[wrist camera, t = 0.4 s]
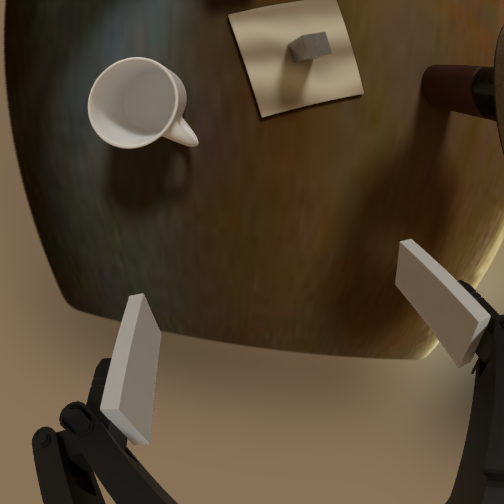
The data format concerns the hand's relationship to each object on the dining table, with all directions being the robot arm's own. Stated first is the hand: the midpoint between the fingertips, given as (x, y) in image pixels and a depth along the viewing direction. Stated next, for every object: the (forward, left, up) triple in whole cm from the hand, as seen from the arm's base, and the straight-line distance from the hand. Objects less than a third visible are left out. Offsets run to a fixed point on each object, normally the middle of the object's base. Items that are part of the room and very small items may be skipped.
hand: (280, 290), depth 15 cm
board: (-12, +12, -27) cm, 32 cm away
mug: (-10, -6, -27) cm, 29 cm away
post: (-12, +12, -27) cm, 32 cm away
